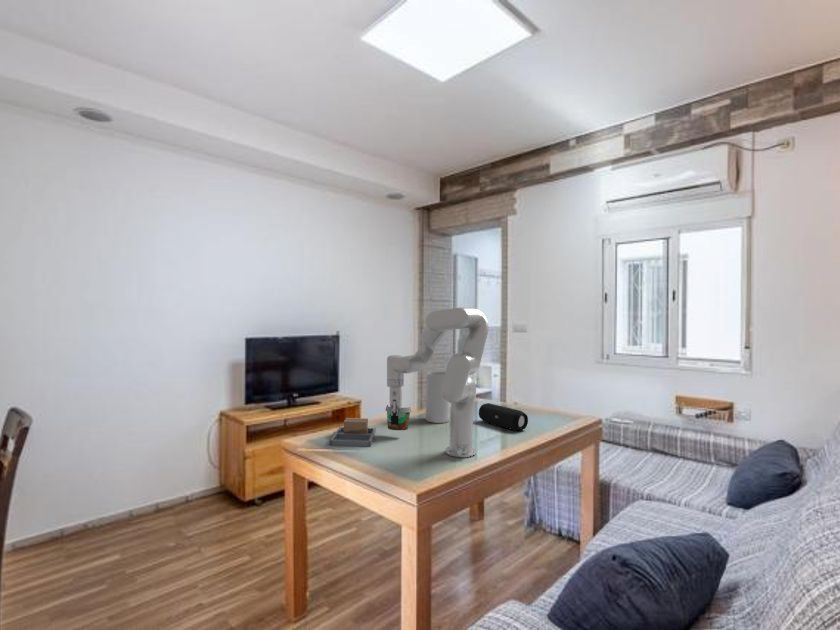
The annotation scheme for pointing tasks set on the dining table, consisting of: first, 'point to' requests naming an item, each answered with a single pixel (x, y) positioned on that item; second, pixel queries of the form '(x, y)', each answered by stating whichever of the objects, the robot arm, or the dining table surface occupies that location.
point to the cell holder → (352, 438)
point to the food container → (399, 418)
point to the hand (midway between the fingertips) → (395, 422)
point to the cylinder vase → (436, 399)
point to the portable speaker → (503, 416)
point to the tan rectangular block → (356, 426)
